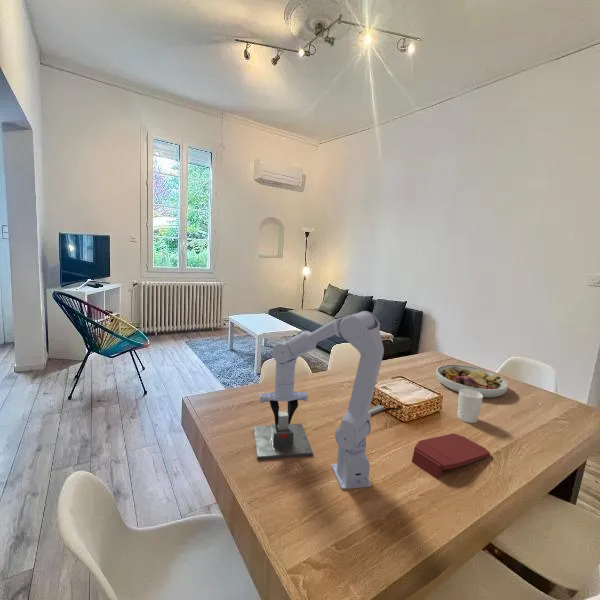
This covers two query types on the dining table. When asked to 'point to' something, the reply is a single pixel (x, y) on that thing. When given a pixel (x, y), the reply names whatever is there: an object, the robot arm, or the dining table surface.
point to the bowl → (472, 380)
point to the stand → (281, 442)
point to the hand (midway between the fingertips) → (282, 422)
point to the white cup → (469, 405)
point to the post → (282, 421)
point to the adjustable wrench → (376, 409)
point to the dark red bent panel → (446, 453)
